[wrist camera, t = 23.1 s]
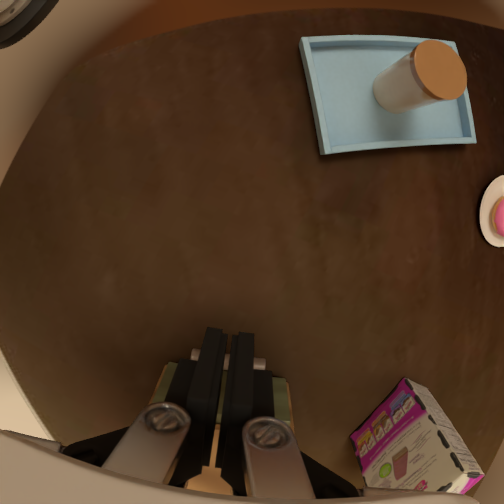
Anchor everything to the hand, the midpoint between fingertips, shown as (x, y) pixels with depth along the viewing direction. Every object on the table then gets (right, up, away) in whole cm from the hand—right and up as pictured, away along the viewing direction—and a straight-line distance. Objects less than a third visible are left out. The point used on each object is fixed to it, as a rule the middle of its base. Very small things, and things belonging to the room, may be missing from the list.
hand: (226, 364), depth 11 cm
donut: (+29, +10, +17) cm, 35 cm away
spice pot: (+14, +19, +14) cm, 27 cm away
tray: (+14, +19, +14) cm, 28 cm away
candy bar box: (+18, -16, +24) cm, 34 cm away
